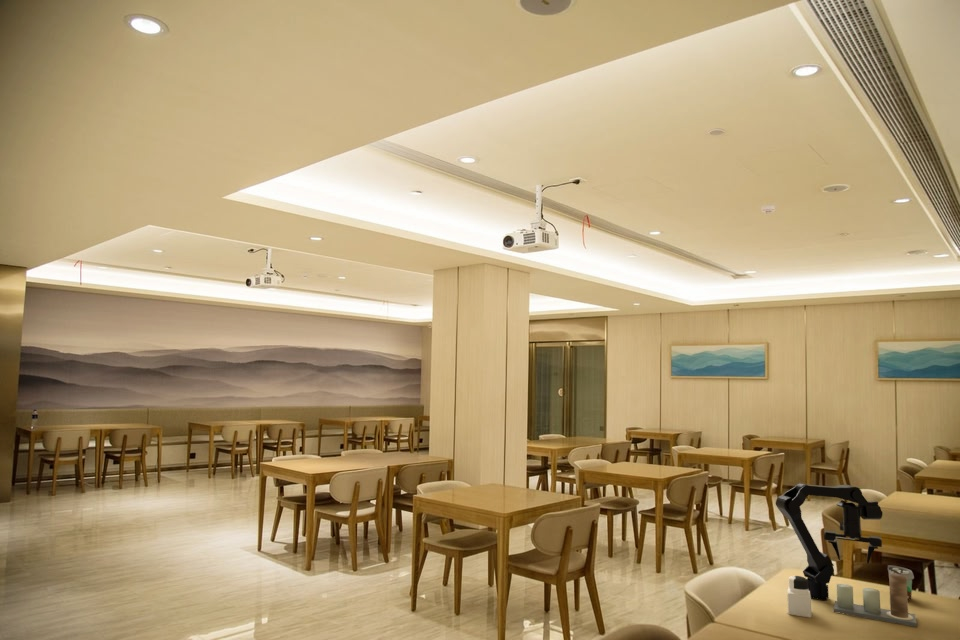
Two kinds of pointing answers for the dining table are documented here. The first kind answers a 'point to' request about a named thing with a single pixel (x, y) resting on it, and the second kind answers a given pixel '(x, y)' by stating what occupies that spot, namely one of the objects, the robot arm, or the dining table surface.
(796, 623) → the dining table surface
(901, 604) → the walnut post
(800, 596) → the medicine bottle
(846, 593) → the sage posts
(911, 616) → the slate board
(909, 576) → the food container
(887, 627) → the dining table surface
